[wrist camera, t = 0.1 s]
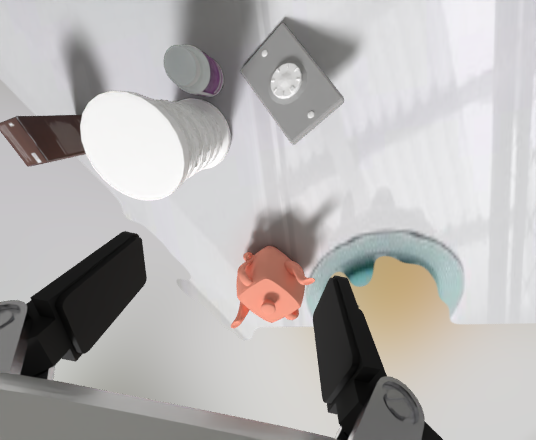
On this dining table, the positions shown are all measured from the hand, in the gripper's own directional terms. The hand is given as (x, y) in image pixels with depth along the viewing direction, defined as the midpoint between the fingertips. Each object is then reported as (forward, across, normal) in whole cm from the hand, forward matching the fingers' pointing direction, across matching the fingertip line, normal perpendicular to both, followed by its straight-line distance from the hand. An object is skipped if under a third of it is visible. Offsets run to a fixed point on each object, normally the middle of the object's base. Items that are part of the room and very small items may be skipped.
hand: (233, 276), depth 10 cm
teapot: (+31, -5, +25) cm, 40 cm away
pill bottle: (+31, +13, -10) cm, 35 cm away
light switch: (+31, 0, -11) cm, 33 cm away
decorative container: (+31, +14, -1) cm, 34 cm away
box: (+31, +34, +3) cm, 46 cm away
